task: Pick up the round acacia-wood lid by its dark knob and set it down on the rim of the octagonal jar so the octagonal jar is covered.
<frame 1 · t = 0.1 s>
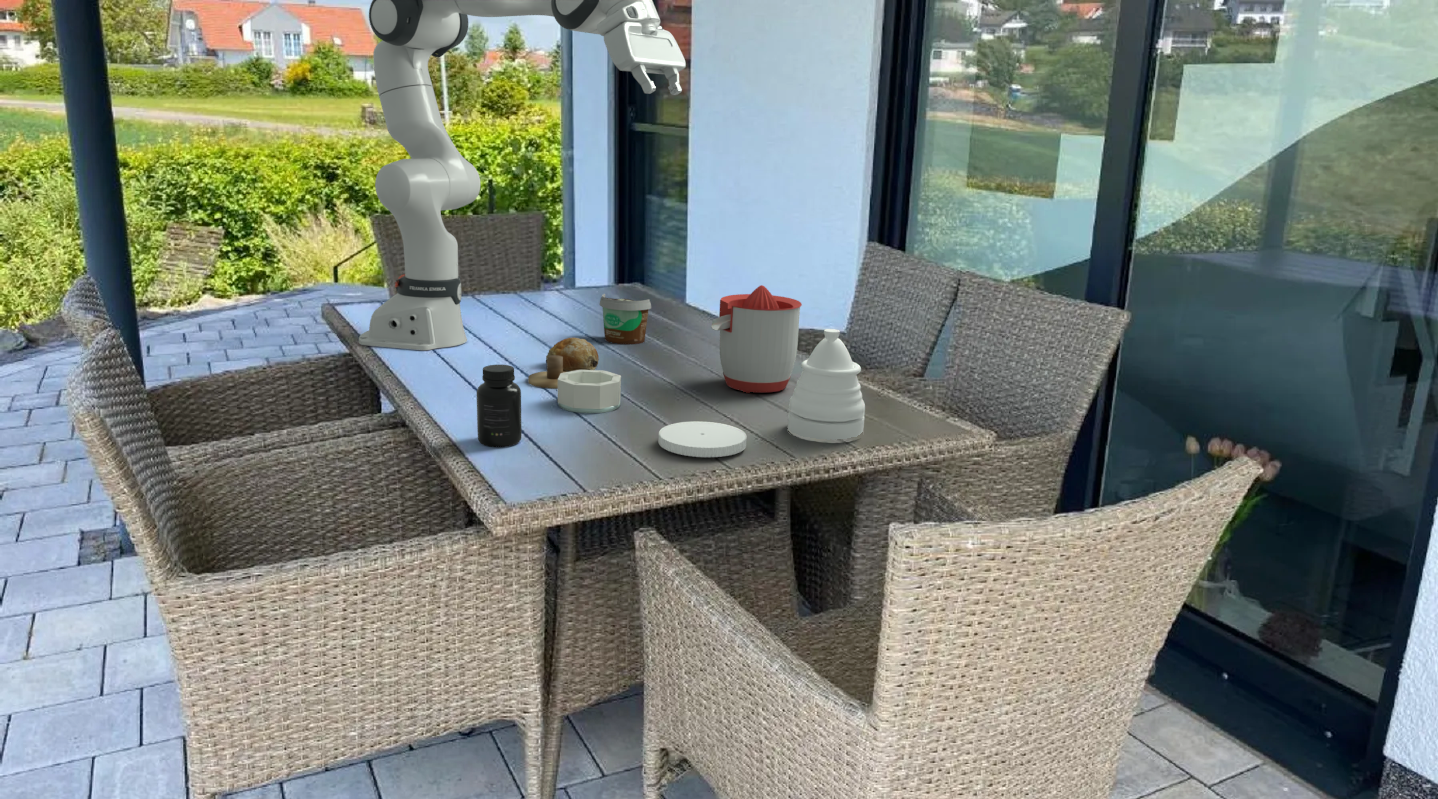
hand: (664, 92, 196), 54 cm above the table, tool tilted 30°, fingers open, 8 cm apart
octagonal jar: (589, 404, 193), on the table
citrus juicer: (751, 388, 210), on the table
wooden lid: (554, 383, 207), on the table
supplement bottle: (499, 442, 170), on the table
honey pot: (824, 433, 183), on the table
bread roll: (571, 368, 218), on the table
food container: (619, 343, 243), on the table
plastic lid: (702, 450, 172), on the table
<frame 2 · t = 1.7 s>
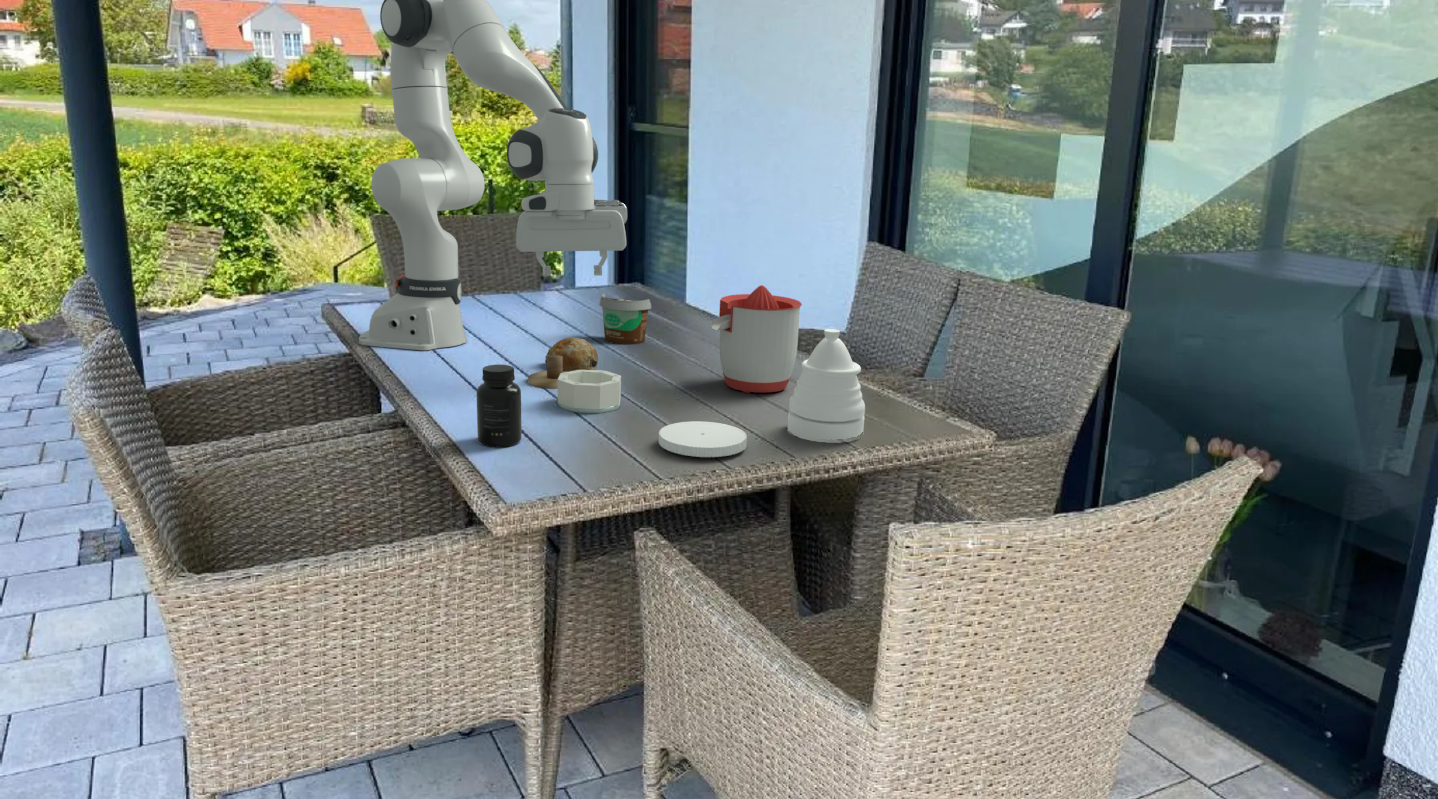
hand: (572, 275, 200), 21 cm above the table, tool pointing down, fingers open, 8 cm apart
nothing on the table moved.
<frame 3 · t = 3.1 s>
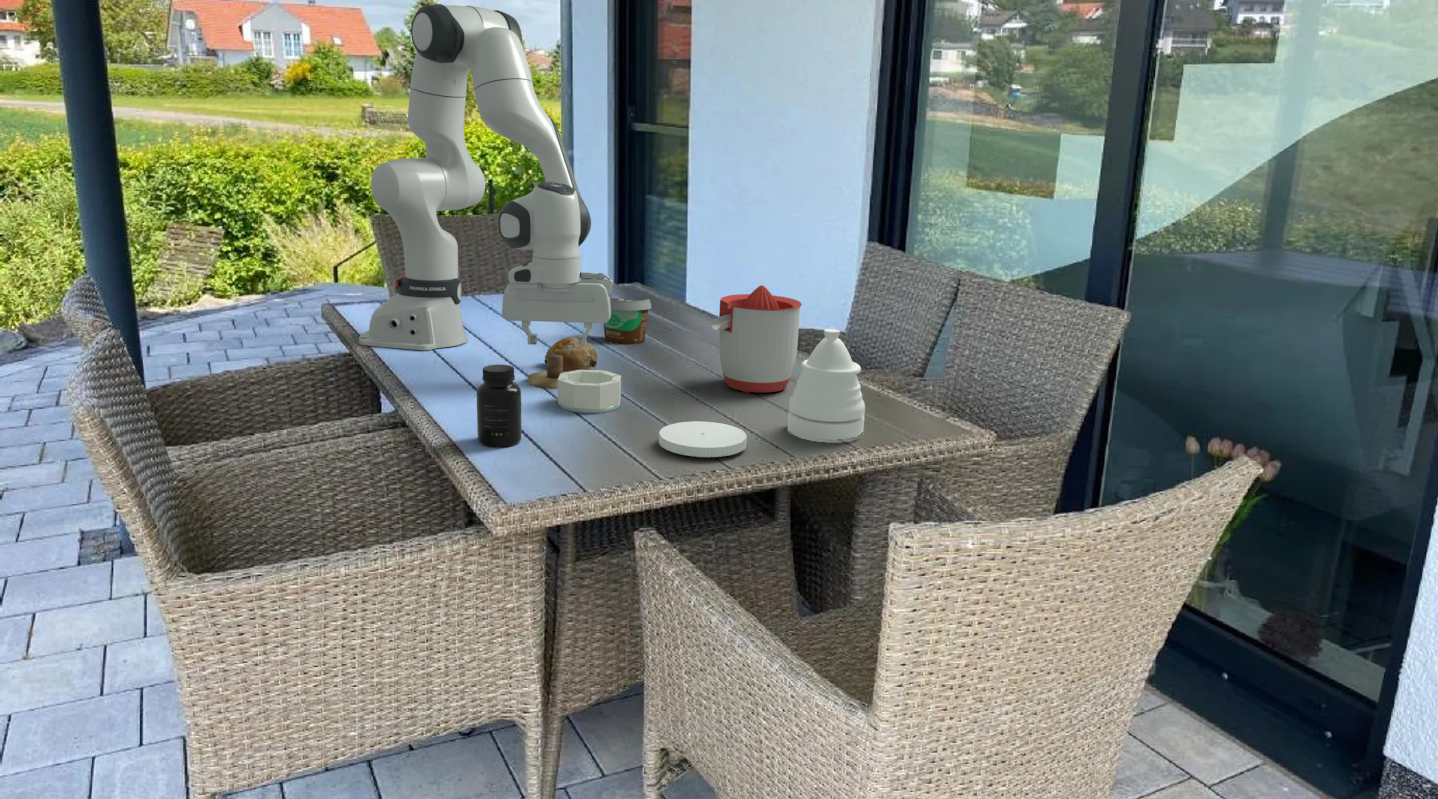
hand: (557, 344, 204), 7 cm above the table, tool pointing down, fingers open, 8 cm apart
nothing on the table moved.
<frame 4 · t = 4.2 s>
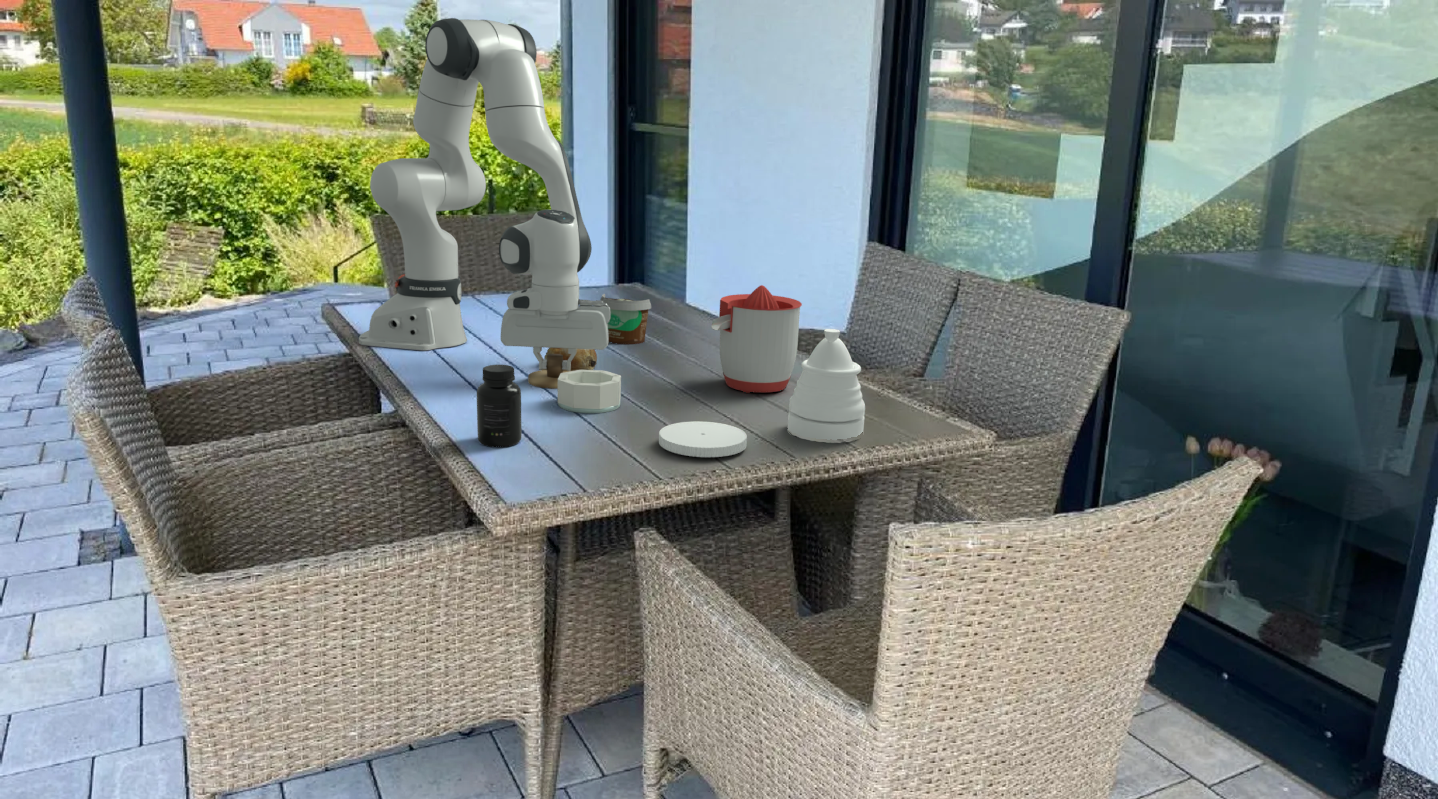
hand: (554, 370, 206), 2 cm above the table, tool pointing down, fingers closed on wooden lid, 3 cm apart
wooden lid: (554, 381, 207), on the table, touching gripper
everything else where it was.
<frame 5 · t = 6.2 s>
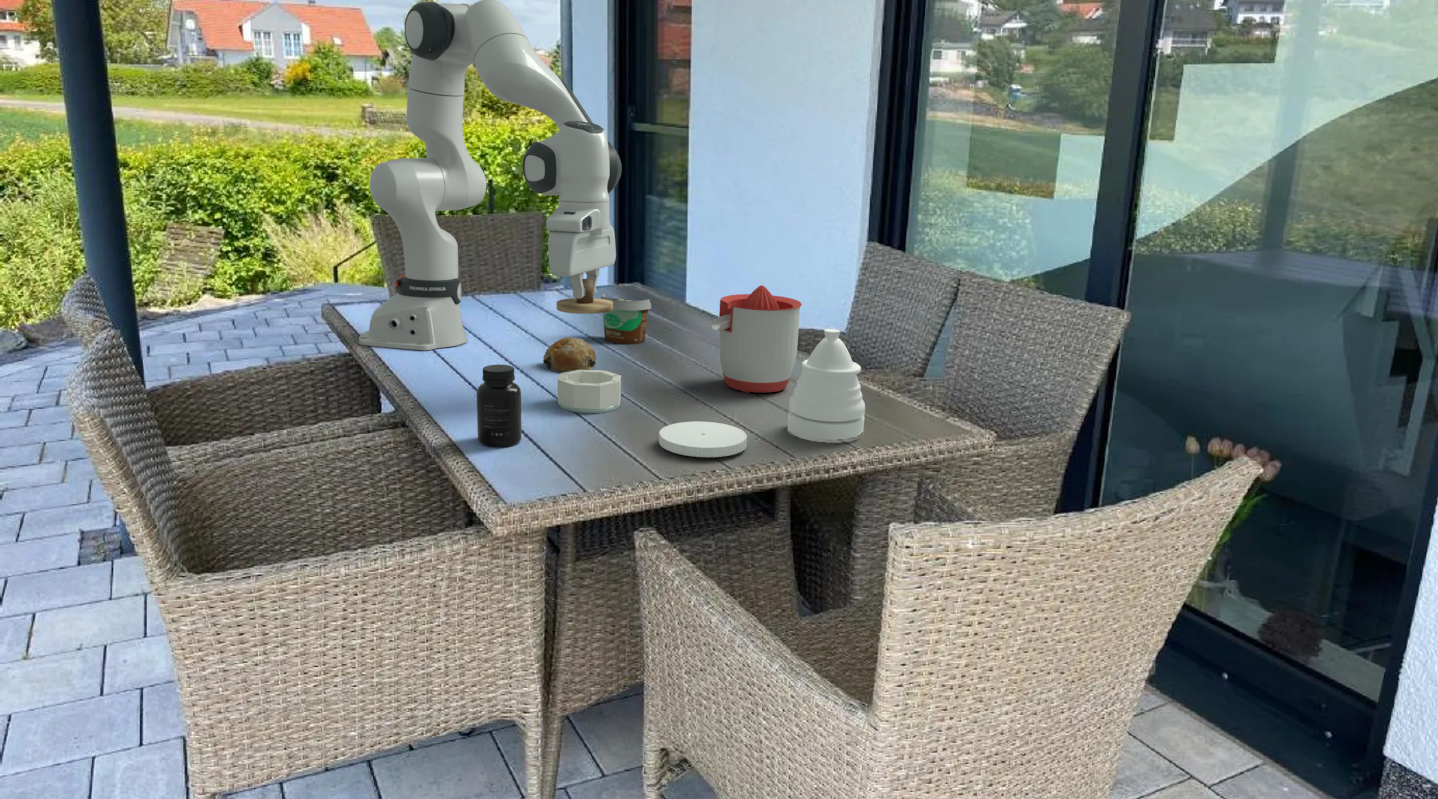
hand: (584, 296, 192), 19 cm above the table, tool pointing down, fingers closed on wooden lid, 3 cm apart
wooden lid: (584, 309, 192), point 16 cm above the table, touching gripper
everything else where it was.
when the fingers open (8 cm above the table, at t = 8.4 s): wooden lid drops 1 cm, resting on octagonal jar.
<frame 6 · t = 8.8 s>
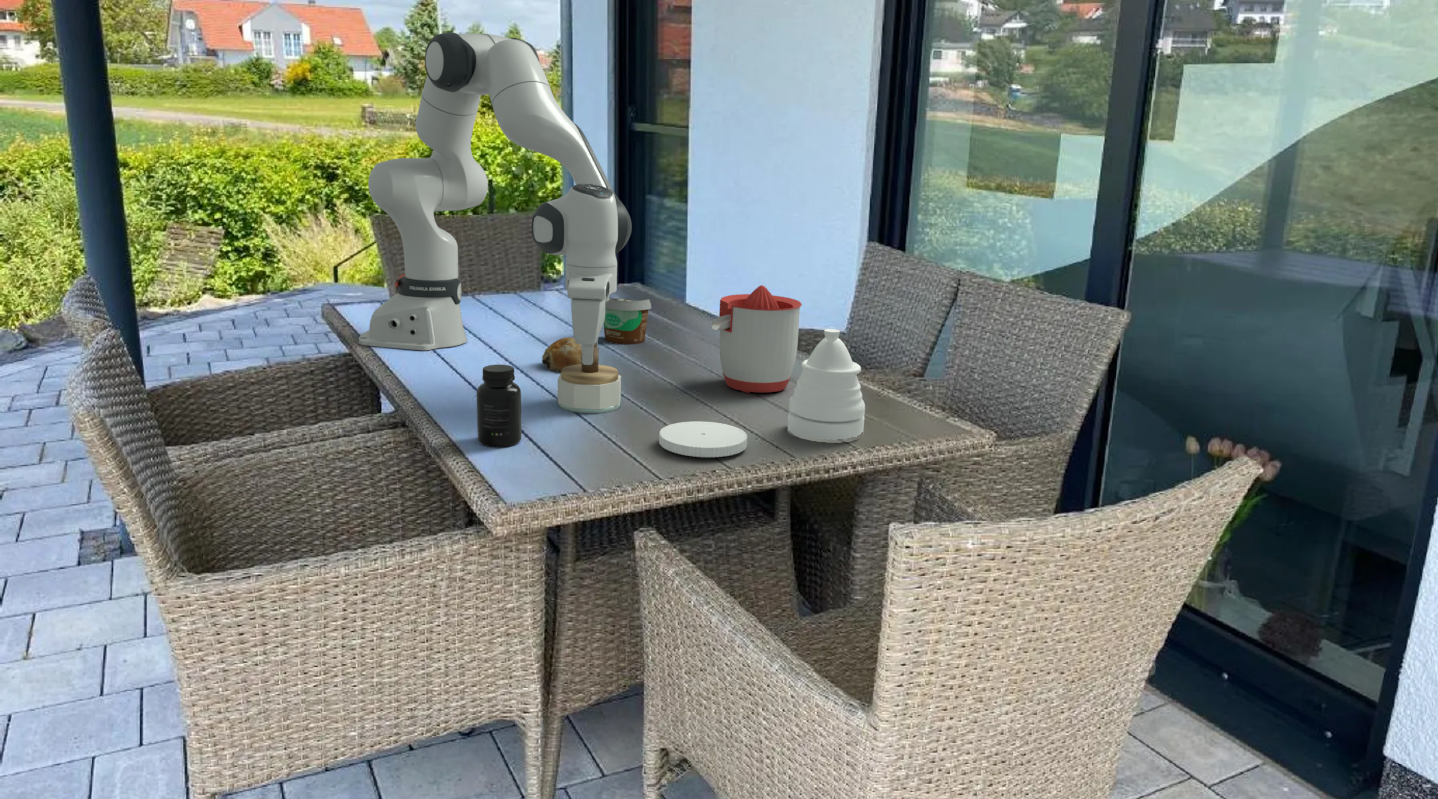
hand: (589, 358, 190), 8 cm above the table, tool pointing down, fingers open, 7 cm apart
wooden lid: (589, 377, 191), point 5 cm above the table, touching octagonal jar
everything else where it was.
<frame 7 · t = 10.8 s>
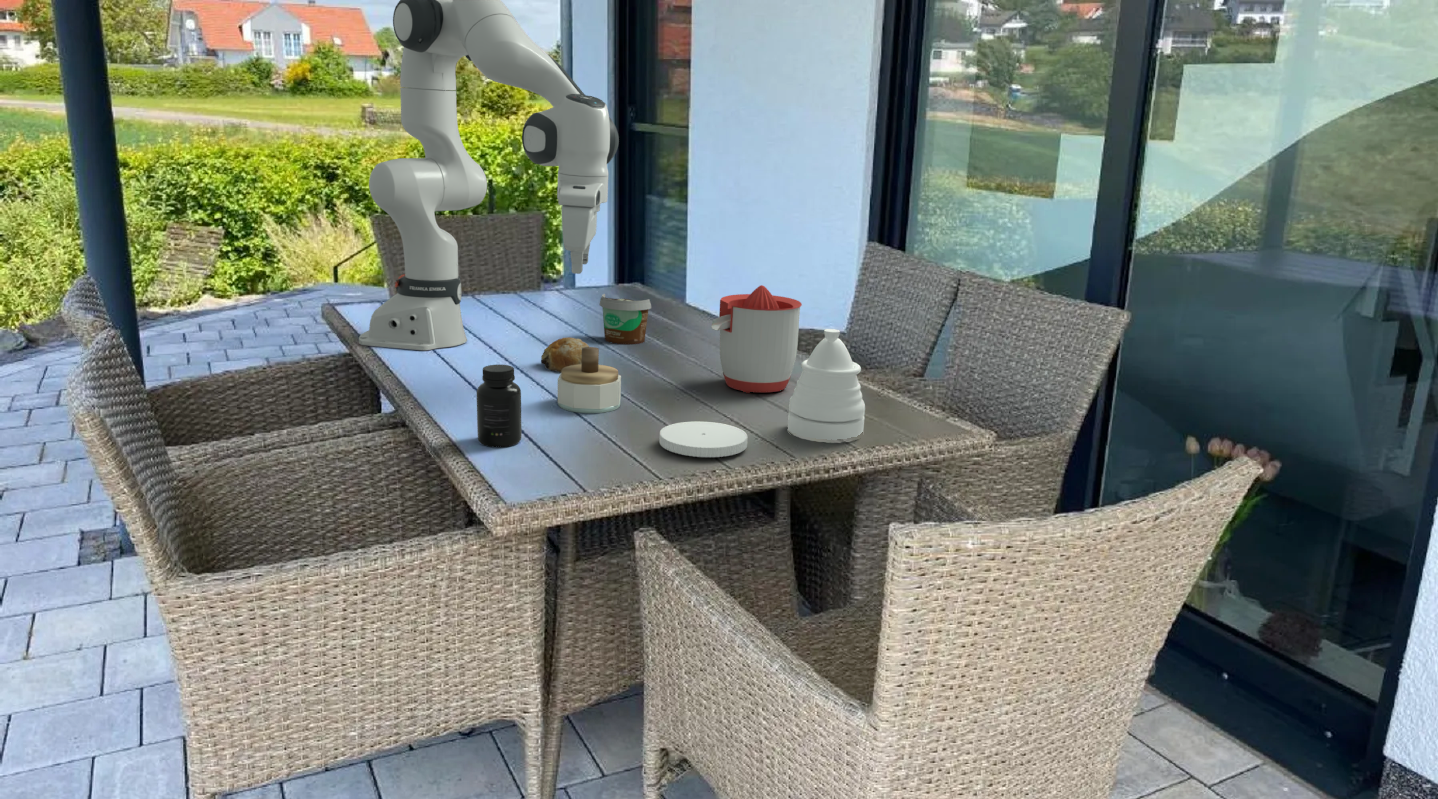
hand: (579, 268, 194), 23 cm above the table, tool pointing down, fingers open, 8 cm apart
nothing on the table moved.
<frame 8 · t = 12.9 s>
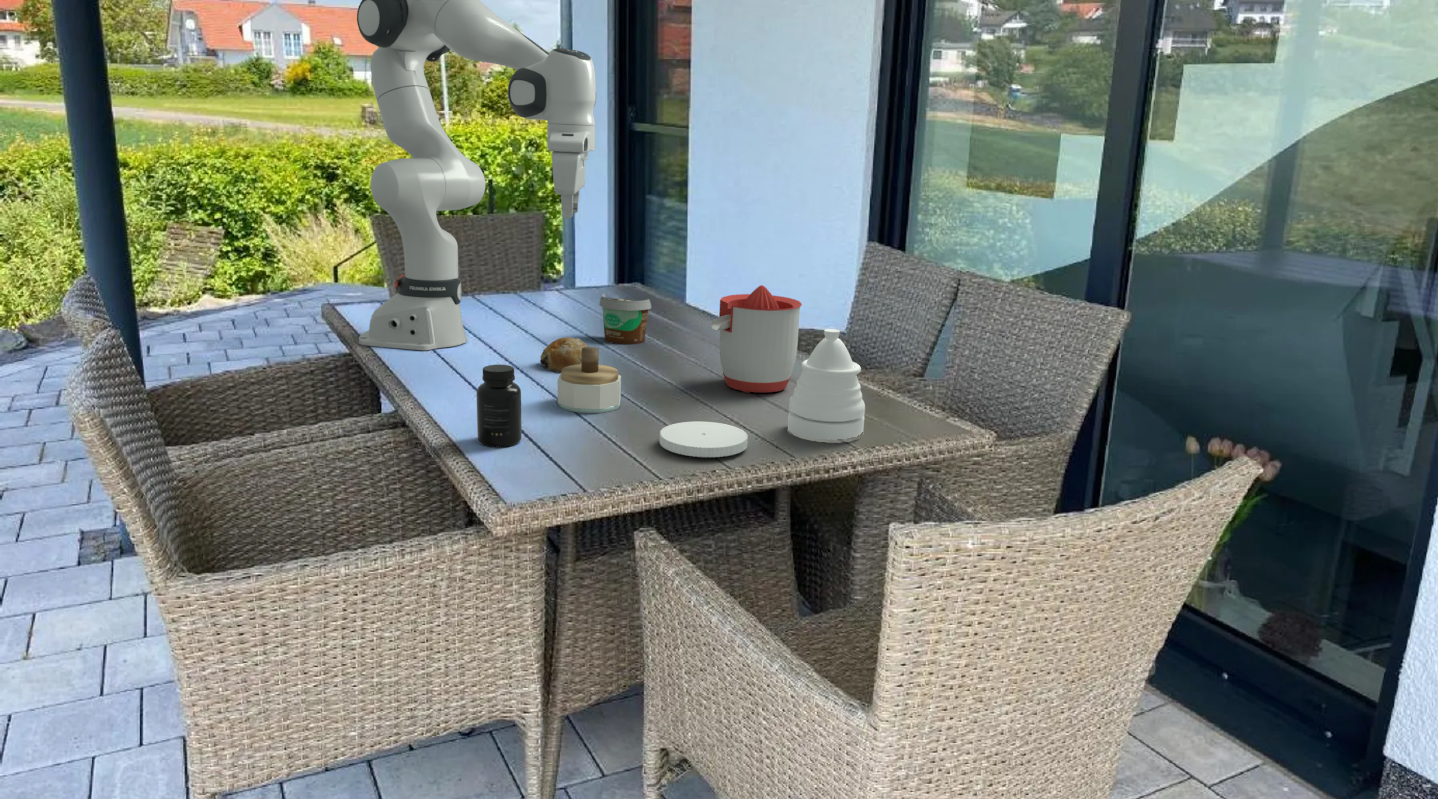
hand: (570, 215, 204), 31 cm above the table, tool pointing down, fingers open, 8 cm apart
at the end: wooden lid 0.0 cm off-centre on the octagonal jar, point 5.0 cm above the octagonal jar's base; wooden lid tilted 0°; the gripper is holding nothing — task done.
